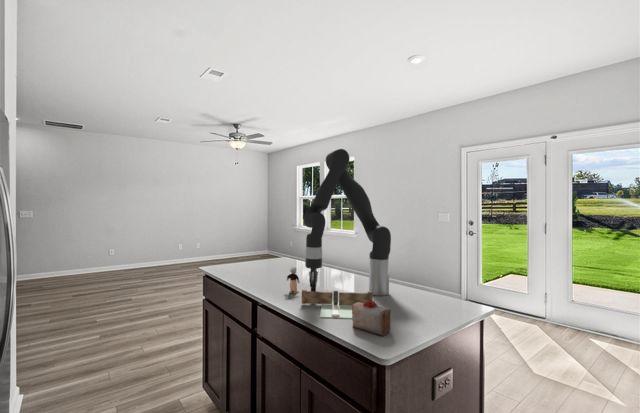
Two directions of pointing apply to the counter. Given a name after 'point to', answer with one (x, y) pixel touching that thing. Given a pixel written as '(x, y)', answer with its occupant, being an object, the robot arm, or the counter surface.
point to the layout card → (336, 311)
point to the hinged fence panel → (319, 297)
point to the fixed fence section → (354, 298)
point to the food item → (371, 317)
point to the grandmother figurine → (293, 280)
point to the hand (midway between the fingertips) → (313, 295)
